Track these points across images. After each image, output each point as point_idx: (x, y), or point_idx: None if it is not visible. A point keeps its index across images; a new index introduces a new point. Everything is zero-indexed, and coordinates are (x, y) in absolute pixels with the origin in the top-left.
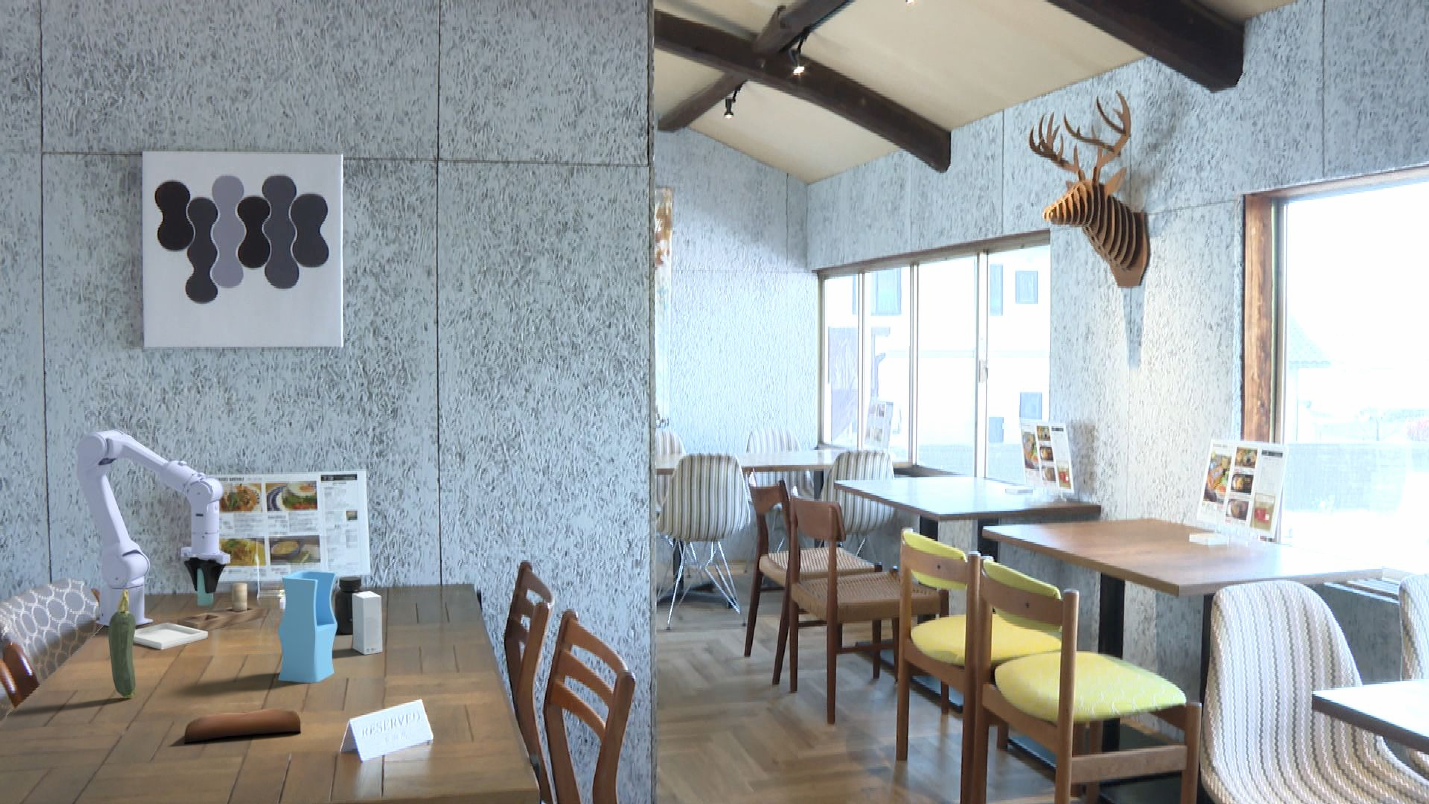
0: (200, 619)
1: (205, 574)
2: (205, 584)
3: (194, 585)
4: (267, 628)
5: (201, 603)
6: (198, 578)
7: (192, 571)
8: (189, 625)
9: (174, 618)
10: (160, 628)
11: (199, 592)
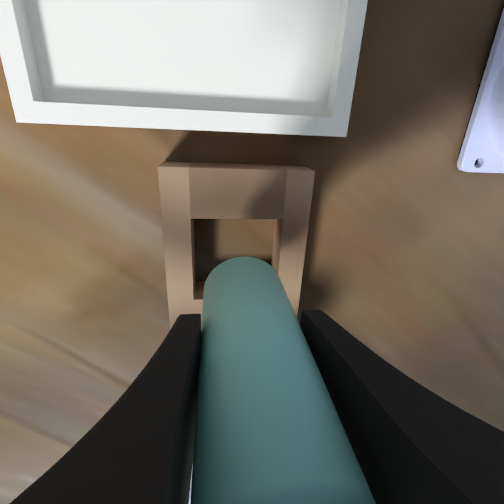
0: (276, 260)
1: (106, 447)
2: (175, 353)
3: (330, 328)
4: (22, 349)
5: (226, 265)
6: (282, 380)
7: (401, 428)
8: (222, 165)
9: (422, 252)
10: (331, 84)
11: (247, 297)
